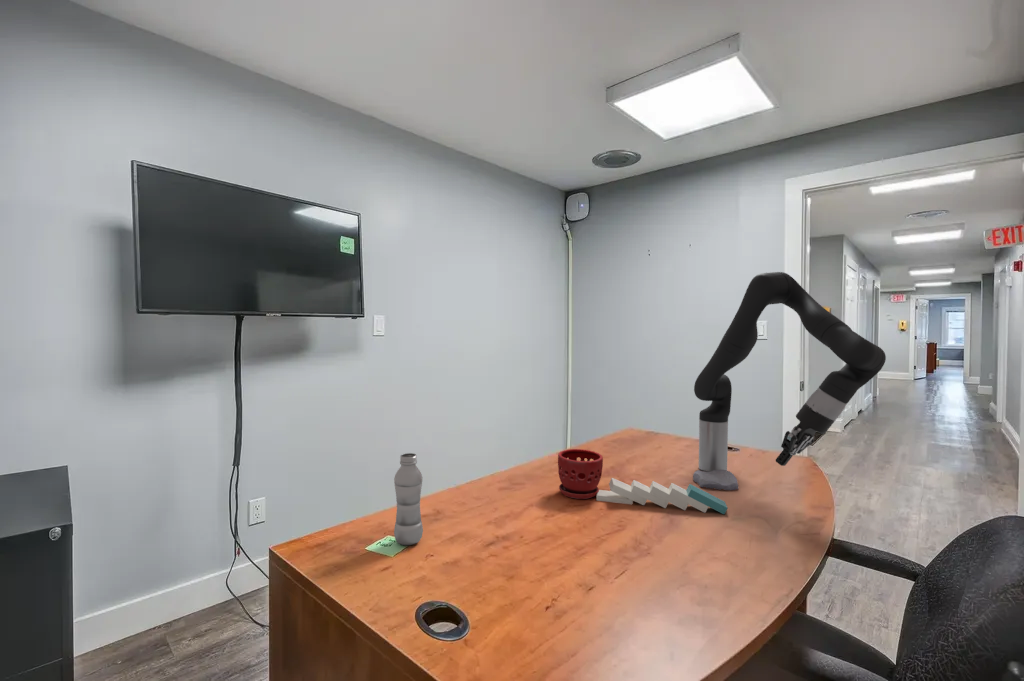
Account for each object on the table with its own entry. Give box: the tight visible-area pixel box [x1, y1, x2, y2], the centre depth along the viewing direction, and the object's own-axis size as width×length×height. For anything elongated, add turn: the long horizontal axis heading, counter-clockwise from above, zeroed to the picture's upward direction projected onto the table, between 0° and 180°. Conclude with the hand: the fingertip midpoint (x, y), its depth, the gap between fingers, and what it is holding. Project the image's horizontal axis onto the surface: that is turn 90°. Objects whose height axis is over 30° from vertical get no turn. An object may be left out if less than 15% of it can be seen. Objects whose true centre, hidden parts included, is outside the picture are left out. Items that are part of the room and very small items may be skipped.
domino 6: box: [686, 483, 728, 515], centre depth 132 cm, size 2×5×10 cm
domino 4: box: [649, 480, 689, 511], centre depth 134 cm, size 2×5×10 cm
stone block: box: [692, 469, 739, 491], centre depth 152 cm, size 12×5×10 cm
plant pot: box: [557, 448, 604, 500], centre depth 143 cm, size 13×13×12 cm
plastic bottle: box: [393, 452, 424, 546], centre depth 111 cm, size 6×7×20 cm
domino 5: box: [668, 482, 709, 513], centre depth 133 cm, size 2×5×10 cm
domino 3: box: [630, 479, 669, 509], centre depth 136 cm, size 2×5×10 cm
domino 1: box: [596, 489, 634, 505], centre depth 139 cm, size 2×5×10 cm
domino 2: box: [608, 477, 647, 506], centre depth 137 cm, size 2×5×10 cm
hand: (779, 463), depth 128 cm, fingers closed
